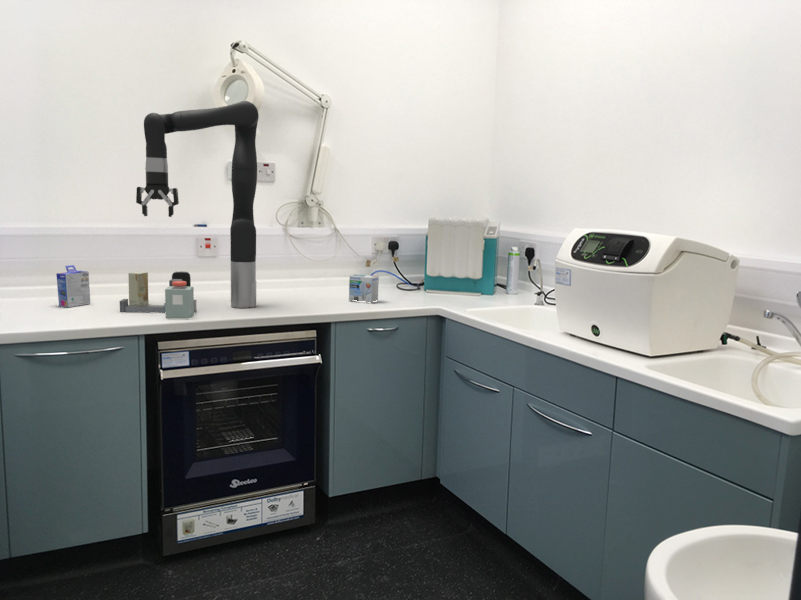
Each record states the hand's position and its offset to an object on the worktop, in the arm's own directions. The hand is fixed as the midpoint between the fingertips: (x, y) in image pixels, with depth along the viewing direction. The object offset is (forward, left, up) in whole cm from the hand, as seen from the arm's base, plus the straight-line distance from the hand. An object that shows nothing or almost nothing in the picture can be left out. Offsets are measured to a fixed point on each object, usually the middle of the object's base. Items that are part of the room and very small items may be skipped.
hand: (157, 216), depth 235 cm
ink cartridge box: (+30, 0, -33) cm, 45 cm away
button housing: (-11, +20, -33) cm, 40 cm away
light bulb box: (-77, -17, -33) cm, 86 cm away
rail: (-2, +11, -33) cm, 35 cm away
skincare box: (+8, -2, -33) cm, 34 cm away
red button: (-11, +20, -31) cm, 39 cm away
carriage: (-8, +11, -33) cm, 36 cm away
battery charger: (-5, -14, -33) cm, 36 cm away
